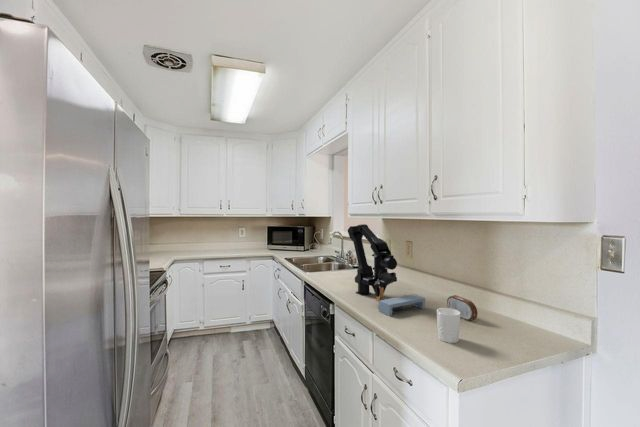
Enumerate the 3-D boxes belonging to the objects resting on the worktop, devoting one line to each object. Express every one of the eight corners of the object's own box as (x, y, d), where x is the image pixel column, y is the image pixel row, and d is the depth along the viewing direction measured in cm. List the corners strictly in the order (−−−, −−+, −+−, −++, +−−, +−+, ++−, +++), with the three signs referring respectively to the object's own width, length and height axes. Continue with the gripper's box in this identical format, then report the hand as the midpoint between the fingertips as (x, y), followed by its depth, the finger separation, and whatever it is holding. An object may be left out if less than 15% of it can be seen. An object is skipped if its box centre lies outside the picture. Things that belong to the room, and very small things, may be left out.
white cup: (431, 336, 106) (431, 309, 106) (447, 333, 110) (447, 306, 110) (449, 345, 99) (449, 316, 99) (465, 341, 102) (465, 313, 102)
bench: (378, 311, 133) (378, 300, 133) (413, 304, 144) (413, 294, 144) (389, 316, 127) (389, 304, 127) (424, 308, 138) (424, 297, 138)
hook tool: (369, 302, 147) (369, 288, 147) (380, 299, 151) (380, 286, 151) (392, 311, 134) (392, 296, 134) (403, 308, 138) (403, 293, 138)
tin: (478, 322, 120) (478, 302, 120) (472, 323, 119) (472, 303, 119) (451, 311, 134) (451, 292, 134) (445, 311, 133) (445, 293, 133)
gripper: (375, 270, 138) (375, 303, 138) (404, 267, 147) (404, 297, 147) (361, 266, 147) (361, 297, 147) (389, 263, 156) (389, 292, 156)
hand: (379, 296), depth 149 cm, fingers closed on hook tool, 3 cm apart
